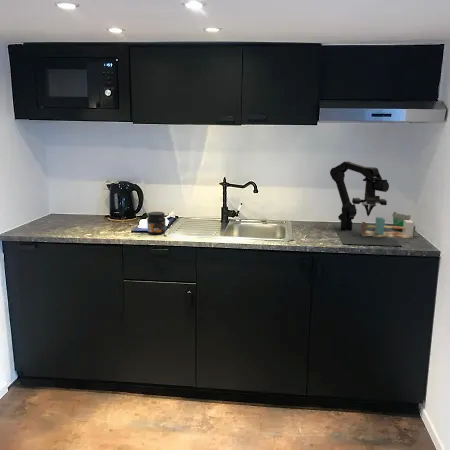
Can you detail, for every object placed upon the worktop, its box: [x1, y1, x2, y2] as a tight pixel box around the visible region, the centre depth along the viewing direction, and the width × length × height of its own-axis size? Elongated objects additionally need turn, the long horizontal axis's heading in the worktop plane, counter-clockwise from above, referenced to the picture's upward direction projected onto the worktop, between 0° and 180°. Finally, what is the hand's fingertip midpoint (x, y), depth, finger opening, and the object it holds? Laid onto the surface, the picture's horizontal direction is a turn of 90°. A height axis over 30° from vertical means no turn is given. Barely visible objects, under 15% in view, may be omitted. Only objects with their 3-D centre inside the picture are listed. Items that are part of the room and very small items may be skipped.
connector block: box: [402, 219, 416, 237], centre depth 274 cm, size 6×7×8 cm
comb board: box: [359, 221, 414, 239], centre depth 277 cm, size 28×10×7 cm, turn 82°
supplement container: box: [146, 211, 166, 236], centre depth 275 cm, size 10×10×12 cm
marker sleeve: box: [374, 216, 386, 234], centre depth 277 cm, size 4×6×8 cm, turn 172°
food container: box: [391, 211, 412, 232], centre depth 290 cm, size 12×6×10 cm, turn 27°
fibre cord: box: [366, 224, 405, 230], centre depth 276 cm, size 23×1×1 cm, turn 82°
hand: (368, 215), depth 276 cm, fingers closed
